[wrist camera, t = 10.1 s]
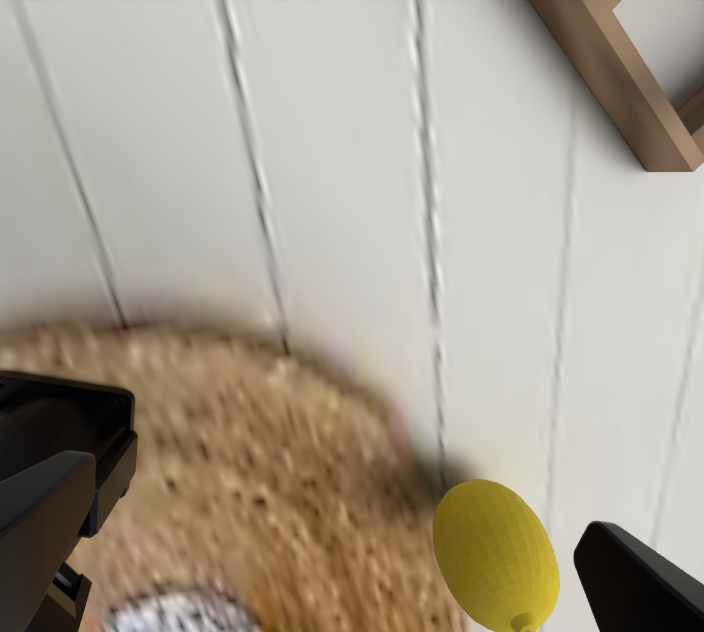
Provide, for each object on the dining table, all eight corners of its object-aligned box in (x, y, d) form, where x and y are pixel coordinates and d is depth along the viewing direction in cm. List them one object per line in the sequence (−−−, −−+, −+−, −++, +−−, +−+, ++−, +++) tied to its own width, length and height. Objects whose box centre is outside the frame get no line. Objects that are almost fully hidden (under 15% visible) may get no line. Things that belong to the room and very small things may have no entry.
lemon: (425, 448, 23) (477, 583, 15) (518, 451, 23) (613, 584, 16) (411, 523, 24) (451, 678, 17) (498, 524, 25) (574, 675, 18)
